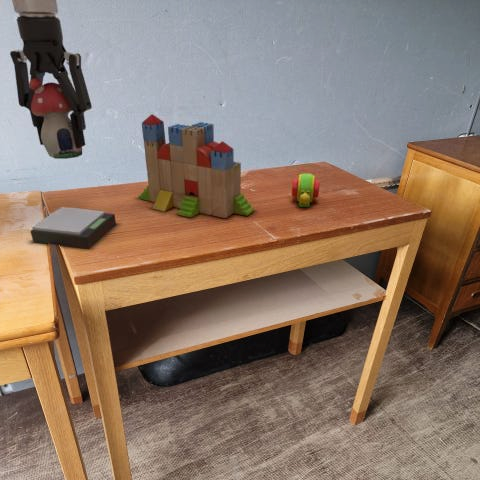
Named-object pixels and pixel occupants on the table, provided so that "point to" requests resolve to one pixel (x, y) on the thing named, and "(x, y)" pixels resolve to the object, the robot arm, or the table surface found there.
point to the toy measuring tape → (305, 189)
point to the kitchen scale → (73, 227)
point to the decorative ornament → (54, 120)
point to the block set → (191, 171)
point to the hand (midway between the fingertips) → (63, 144)
